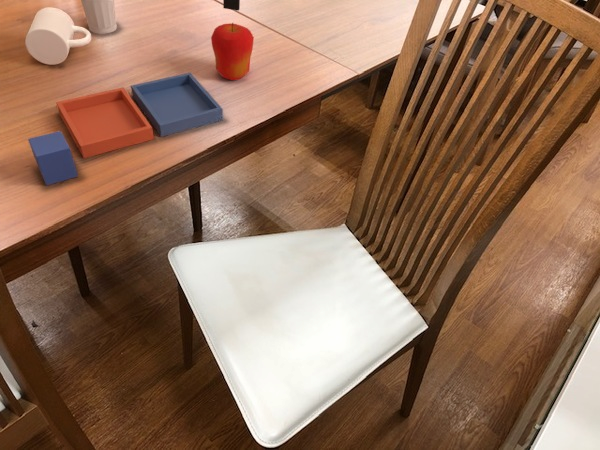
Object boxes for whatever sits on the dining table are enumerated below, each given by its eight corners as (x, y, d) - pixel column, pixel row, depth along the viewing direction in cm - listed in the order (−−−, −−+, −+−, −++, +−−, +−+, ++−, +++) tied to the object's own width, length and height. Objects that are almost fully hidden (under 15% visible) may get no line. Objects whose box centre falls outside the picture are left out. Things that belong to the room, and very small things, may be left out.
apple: (258, 71, 113) (260, 19, 104) (241, 88, 107) (242, 35, 98) (224, 60, 114) (223, 8, 106) (205, 77, 109) (203, 24, 100)
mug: (31, 65, 105) (19, 28, 100) (40, 42, 112) (30, 6, 106) (92, 65, 108) (84, 29, 102) (97, 43, 114) (90, 7, 108)
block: (38, 167, 84) (27, 138, 80) (69, 159, 86) (60, 130, 82) (46, 185, 82) (36, 156, 77) (78, 176, 84) (69, 147, 79)
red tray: (59, 114, 95) (56, 102, 93) (125, 98, 100) (123, 87, 98) (83, 158, 87) (80, 146, 85) (154, 139, 92) (152, 127, 91)
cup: (91, 18, 122) (80, -35, 113) (124, 21, 122) (116, -31, 114) (80, 33, 117) (67, -21, 108) (114, 37, 117) (105, -17, 108)
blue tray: (132, 97, 101) (130, 85, 99) (190, 83, 106) (190, 72, 105) (161, 137, 93) (159, 125, 91) (222, 120, 99) (222, 108, 97)
